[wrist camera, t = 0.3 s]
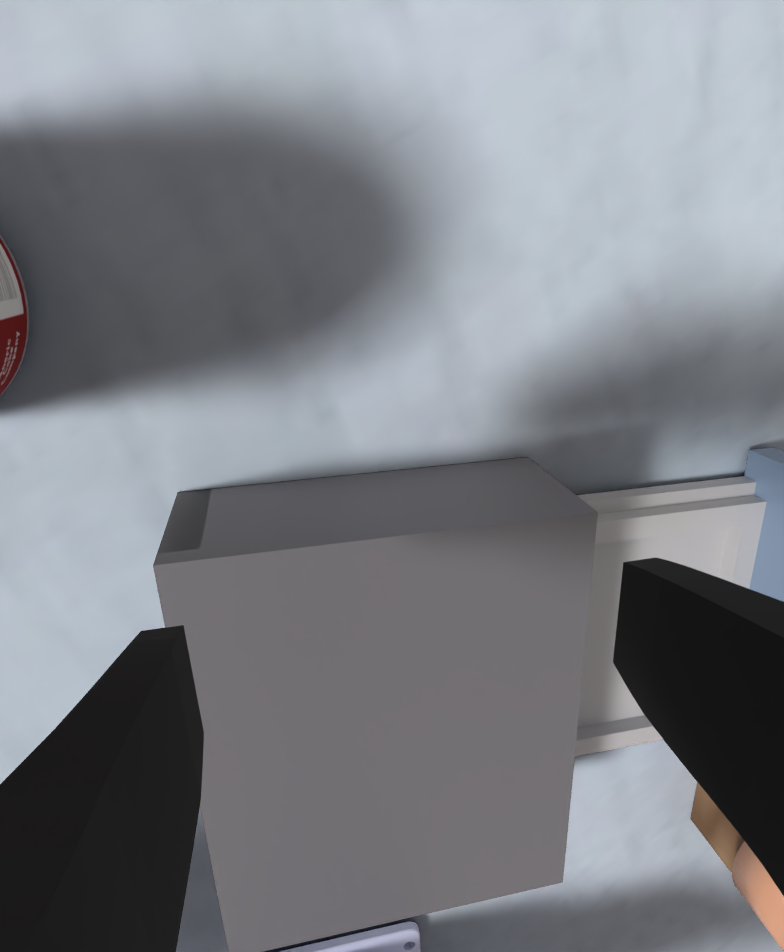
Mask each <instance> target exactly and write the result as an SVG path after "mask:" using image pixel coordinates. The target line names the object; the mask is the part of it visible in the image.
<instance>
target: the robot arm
mask: <svg viewBox="0 0 784 952" xmlns="http://www.w3.org/2000/svg"><path fill="white" fill-rule="evenodd" d="M613 663H614V665H615V667H616V669H617V670H618V672H619V674H620V676H621V677H622V679H623V681H624V683H625V684H626V686H627V688H628V690H629V691H630V693H631V694H632V696H633V698H634V699H635V701H636V702H637V704H638V706H639V707H640V709H641V710H642V712H643V714H644V715H645V716H646V718H647V719H648V720H649V721H650V723H651V724H652V725H653V727H654V728H655V729H656V731H657V732H658V733H659V734H660V736H661V737H662V738H663V739H664V741H665V742H666V743H667V744H668V746H669V747H670V748H671V750H672V751H673V752H674V753H675V755H676V756H677V757H678V758H679V760H680V761H681V762H682V763H683V765H684V766H685V767H686V768H687V770H688V771H689V772H690V773H691V774H692V776H693V777H694V778H695V779H696V781H697V782H698V783H699V784H700V786H701V787H702V788H703V789H704V791H705V792H706V793H707V794H708V796H709V797H710V798H711V799H712V801H713V802H714V803H715V804H716V806H717V807H718V808H719V809H720V811H721V812H722V813H723V814H724V815H725V817H726V818H727V819H728V820H729V822H730V823H731V824H732V825H733V827H734V828H735V829H736V830H737V832H738V833H739V834H740V835H741V837H742V838H743V839H744V841H745V842H746V843H747V845H748V846H749V847H750V849H751V850H752V851H753V853H754V854H755V856H756V857H757V858H758V860H759V861H760V862H761V864H762V865H763V866H764V868H765V869H766V871H767V872H768V874H769V875H770V877H771V878H772V880H773V881H774V883H775V884H776V886H777V887H778V889H779V890H780V892H781V893H782V895H783V896H784V602H783V601H780V600H778V599H775V598H772V597H770V596H767V595H764V594H761V593H759V592H756V591H753V590H751V589H748V588H745V587H743V586H740V585H737V584H735V583H732V582H729V581H727V580H724V579H721V578H718V577H716V576H713V575H710V574H707V573H705V572H702V571H699V570H696V569H693V568H690V567H687V566H684V565H681V564H678V563H675V562H672V561H668V560H664V559H660V558H649V559H642V560H635V561H628V562H623V570H622V580H621V589H620V599H619V608H618V618H617V627H616V637H615V646H614V656H613ZM203 745H204V731H203V725H202V720H201V715H200V709H199V704H198V699H197V694H196V688H195V683H194V678H193V672H192V667H191V662H190V657H189V651H188V646H187V641H186V635H185V630H184V625H181V626H174V627H167V628H160V629H153V630H146V631H141V632H140V633H139V634H138V635H137V636H136V637H135V638H134V640H133V641H132V642H131V643H130V644H129V645H128V646H127V648H126V649H125V650H124V651H123V652H122V653H121V654H120V656H119V657H118V658H117V659H116V660H115V661H114V662H113V664H112V665H111V666H110V667H109V668H108V669H107V671H106V672H105V673H104V674H103V675H102V676H101V678H100V679H99V680H98V681H97V682H96V683H95V685H94V686H93V687H92V688H91V689H90V690H89V691H88V693H87V694H86V695H85V696H84V697H83V698H82V699H81V700H80V702H79V703H78V704H77V705H76V706H75V707H74V708H73V709H72V710H71V712H70V713H69V714H68V715H67V716H66V717H65V718H64V719H63V720H62V722H61V723H60V724H59V725H58V726H57V727H56V728H55V729H54V730H53V731H52V732H51V733H50V734H49V736H48V737H47V738H46V739H45V740H44V741H43V742H42V743H41V744H40V745H39V746H38V747H37V748H36V749H35V750H34V751H33V752H32V753H31V754H30V755H29V756H28V757H27V758H26V759H25V760H24V761H23V762H22V763H21V764H20V765H19V766H18V767H17V768H16V769H15V770H14V771H13V772H12V773H11V774H10V775H9V776H8V777H7V778H6V779H5V780H4V781H3V782H2V783H1V784H0V952H176V946H177V940H178V934H179V928H180V922H181V917H182V911H183V905H184V899H185V893H186V887H187V881H188V875H189V869H190V863H191V857H192V851H193V845H194V839H195V832H196V826H197V820H198V814H199V807H200V801H201V787H202V769H203ZM279 952H420V933H419V928H418V925H417V924H416V923H414V922H404V923H400V924H395V925H391V926H387V927H383V928H378V929H374V930H370V931H365V932H361V933H357V934H352V935H348V936H344V937H339V938H335V939H331V940H327V941H322V942H318V943H314V944H309V945H305V946H301V947H296V948H292V949H288V950H284V951H279Z"/></svg>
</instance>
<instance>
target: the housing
mask: <svg viewBox="0 0 784 952" xmlns="http://www.w3.org/2000/svg"><path fill="white" fill-rule="evenodd" d="M597 517H598V512H597V511H596V510H595V509H593V508H592V507H591V506H590V505H588V504H587V503H586V502H585V501H583V500H582V499H581V498H579V497H578V496H577V495H576V494H574V493H573V492H572V491H571V490H569V489H568V488H567V487H565V486H564V485H563V484H562V483H560V482H559V481H558V480H556V479H555V478H554V477H553V476H551V475H550V474H549V473H548V472H546V471H545V470H544V469H542V468H541V467H540V466H539V465H537V464H536V463H535V462H534V461H532V460H531V459H530V458H528V457H524V458H514V459H504V460H494V461H484V462H475V463H465V464H455V465H445V466H435V467H425V468H415V469H405V470H395V471H385V472H376V473H366V474H356V475H346V476H336V477H326V478H316V479H306V480H296V481H287V482H277V483H267V484H257V485H247V486H237V487H227V488H217V489H207V490H198V491H188V492H178V493H177V496H176V499H175V502H174V505H173V508H172V511H171V514H170V517H169V520H168V523H167V526H166V529H165V532H164V535H163V538H162V541H161V544H160V547H159V550H158V553H157V556H156V559H155V562H154V565H153V567H154V572H155V577H156V583H157V588H158V593H159V598H160V603H161V608H162V613H163V618H164V624H165V628H167V627H174V626H181V625H184V630H185V635H186V641H187V646H188V651H189V657H190V662H191V667H192V672H193V678H194V683H195V688H196V694H197V699H198V704H199V709H200V715H201V720H202V725H203V731H204V745H203V769H202V787H201V801H200V808H201V814H202V819H203V824H204V829H205V834H206V839H207V844H208V849H209V855H210V860H211V865H212V870H213V875H214V880H215V885H216V891H217V896H218V901H219V906H220V911H221V916H222V921H223V926H224V932H225V937H226V942H227V947H228V952H263V951H268V950H272V949H276V948H281V947H285V946H289V945H294V944H298V943H302V942H307V941H311V940H315V939H320V938H324V937H328V936H333V935H337V934H341V933H345V932H350V931H354V930H358V929H363V928H367V927H371V926H376V925H380V924H384V923H389V922H393V921H397V920H402V919H406V918H410V917H415V916H419V915H423V914H428V913H432V912H436V911H441V910H445V909H449V908H454V907H458V906H462V905H467V904H471V903H475V902H480V901H484V900H488V899H493V898H497V897H501V896H505V895H510V894H514V893H518V892H523V891H527V890H531V889H536V888H540V887H544V886H549V885H553V884H557V883H562V882H563V873H564V863H565V853H566V842H567V832H568V821H569V811H570V800H571V790H572V779H573V769H574V758H575V748H576V737H577V727H578V716H579V706H580V695H581V685H582V674H583V664H584V653H585V643H586V632H587V622H588V611H589V601H590V590H591V580H592V569H593V559H594V548H595V538H596V527H597Z"/></svg>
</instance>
